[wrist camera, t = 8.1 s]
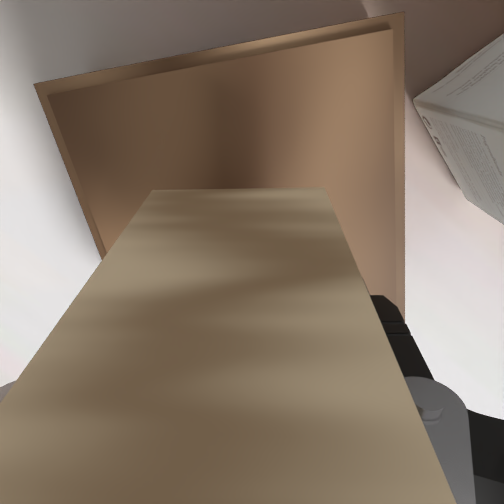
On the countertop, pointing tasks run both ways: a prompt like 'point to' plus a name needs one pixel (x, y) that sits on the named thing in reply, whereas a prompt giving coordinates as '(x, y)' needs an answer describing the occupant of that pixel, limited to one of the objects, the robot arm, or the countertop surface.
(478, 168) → the skincare box
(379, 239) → the walnut box
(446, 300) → the countertop surface
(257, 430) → the oak block
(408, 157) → the countertop surface
